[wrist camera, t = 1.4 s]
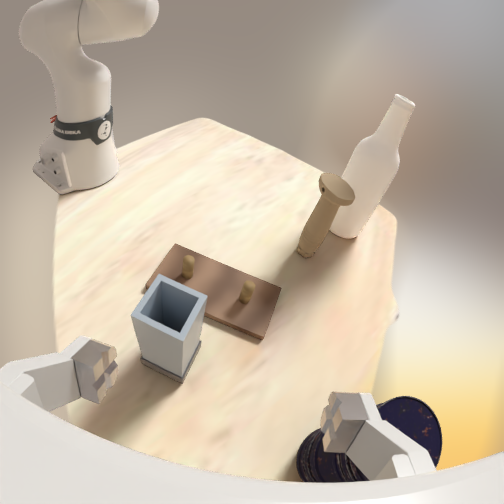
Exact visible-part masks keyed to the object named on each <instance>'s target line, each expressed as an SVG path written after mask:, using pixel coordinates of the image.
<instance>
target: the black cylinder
mask: <svg viewBox="0 0 504 504" xmlns="http://www.w3.org/2000/svg"><path fill="white" fill-rule="evenodd" d="M376 407H377V409H378V411H379V414H380V416H381V419H382V420H386V421H387V422H388V423H390V424H391V425H392V426H394V427H395V428H397V429H398V430H399V431H401V432H402V433H403V434H405V435H406V436H408V437H409V438H410V439H412V440H413V441H415V442H416V443H418V444H419V445H420V446H422V447H423V448H425V449H426V450H427V451H428V453H429V455H430V457H431V459H432V461H433V464H434V466H435V468H436V466H437V464H438V462H439V459H440V455H441V450H442V433H441V428H440V424H439V421H438V419H437V417H436V415H435V414H434V412H433V411H432V409H431V408H430V407H429V406H428V405H427V404H426V403H424V402H423V401H421V400H420V399H417V398H414V397H410V396H401V397H396V398H393V399H391V400H388V401H386V402H384V403H381V404H378V405H376ZM324 435H325V434H324V433H323V432H322V431H321V428H320V429H317V430H315V431H314V432H312V433H311V434H310V435H308V436H307V437H306V439H305V440H304V441H303V443H302V444H301V446H300V448H299V450H298V454H297V470H298V473H299V475H300V477H301V479H302V480H303V481H304V482H312V483H337V482H360V481H370V480H369V479H368V478H367V477H366V476H365V475H364V474H363V473H362V472H361V470H360V469H359V468H358V467H357V466H356V465H355V464H354V463H353V461H352V460H351V459H350V458H349V457H348V456H347V455H346V453H338V452H324V445H323V437H324Z"/></svg>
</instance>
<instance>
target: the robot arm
mask: <svg viewBox="0 0 504 504" xmlns="http://www.w3.org/2000/svg"><path fill="white" fill-rule="evenodd" d="M158 12H159V4H158V0H44V1H41V2H39V3H37V4H35V5H33V6H31V7H30V8H29V9H28V10H27V12H26V13H25V15H24V17H23V19H22V20H21V24H20V27H19V38H20V41H21V44H22V45H23V47H24V48H25V49H26V50H28V51H30V52H32V53H33V54H35V55H36V56H37V57H39V58H40V59H41V61H42V62H43V63H44V64H45V66H46V67H47V69H48V71H49V73H50V75H51V78H52V81H53V85H54V92H55V99H56V108H57V115H55V116H54V117H52V118H50V119H53V118H55V119H53V120H52V121H51V123H52V122H54V121H55V124H54V130H53V132H52V133H51V134H50V135H49V136H48V137H47V138H46V139H45V140H44V141H43V143H42V144H41V146H40V159H39V160H38V161H37V162H36V163H35V165H34V167H33V172H34V173H35V174H36V175H38V176H39V177H40V178H41V179H42V180H43V181H44V182H46V183H47V184H48V185H49V186H50V187H51V188H53V189H54V190H55V191H56V192H57V193H58V194H65V193H68V192H71V191H74V190H83V189H89V188H93V187H97V186H99V185H102V184H104V183H106V182H107V181H109V180H110V179H112V178H113V177H114V176H115V175H116V174H117V172H118V171H119V168H120V163H119V160H118V157H117V148H116V147H115V144H114V137H113V131H112V124H113V109H112V106H111V105H110V104H111V74H110V71H109V69H108V68H107V67H106V66H105V65H104V64H102V63H100V62H98V61H95V60H92V59H90V58H88V57H87V56H86V55H85V54H84V52H83V50H82V45H87V44H95V43H105V42H117V41H122V40H127V39H131V38H136V37H140V36H143V35H145V34H146V33H147V32H148V31H149V30H150V29H151V28H152V26H153V25H154V23H155V21H156V19H157V17H158ZM116 357H117V353H116V348H115V347H113V346H111V345H108V344H105V343H102V342H100V341H97V340H95V339H92V338H89V337H86V336H84V335H81V336H79V337H78V338H77V339H76V340H74V341H73V342H72V343H71V344H70V345H69V346H68V347H66V348H65V349H64V350H63V351H62V352H61V353H60V354H59V353H57V352H56V353H52V354H47V355H42V356H37V357H33V358H27V359H22V360H17V361H12V362H8V363H7V364H6V365H5V366H3V367H2V368H1V369H0V504H504V452H500V453H497V454H494V455H491V456H488V457H485V458H482V459H479V460H476V461H473V462H470V463H466V464H462V465H459V466H455V467H451V468H447V469H443V470H438V471H437V470H436V468H435V466H434V464H433V461H432V459H431V457H430V455H429V453H428V451H427V450H426V449H425V448H423V447H422V446H420V445H419V444H418V443H416V442H415V441H413V440H412V439H410V438H409V437H408V436H406V435H405V434H403V433H402V432H401V431H399V430H398V429H397V428H395V427H394V426H392V425H391V424H390V423H388V422H387V421H386V420H382V419H381V416H380V414H379V411H378V409H377V407H376V404H375V402H374V399H373V397H372V395H371V394H370V393H346V392H332V393H331V394H330V397H329V399H328V401H329V405H328V406H327V407H325V408H324V410H323V413H322V416H321V431H322V432H323V433H324V434H325V435H324V437H323V445H324V452H338V453H346V455H347V456H348V457H349V458H350V459H351V460H352V461H353V463H354V464H355V465H356V466H357V467H358V468H359V469H360V470H361V472H362V473H363V474H364V475H365V476H366V477H367V478H368V479H369V480H370V481H360V482H337V483H312V482H289V481H276V480H265V479H256V478H249V477H242V476H235V475H229V474H223V473H218V472H213V471H208V470H203V469H198V468H194V467H190V466H186V465H182V464H178V463H174V462H171V461H167V460H164V459H160V458H157V457H154V456H150V455H147V454H144V453H141V452H138V451H135V450H132V449H130V448H127V447H124V446H122V445H119V444H116V443H114V442H111V441H109V440H106V439H104V438H101V437H99V436H97V435H94V434H92V433H90V432H88V431H86V430H83V429H81V428H79V427H77V426H75V425H73V424H71V423H69V422H67V421H65V420H63V419H61V418H59V417H57V416H55V415H53V414H52V413H50V412H49V411H52V410H54V409H56V408H58V407H61V406H63V405H66V404H68V403H70V402H72V401H75V400H77V399H79V398H81V397H83V398H85V399H87V400H90V401H93V402H95V403H98V404H100V403H101V401H102V400H103V398H104V397H105V396H106V394H107V391H106V389H108V388H111V387H112V386H113V385H114V383H115V381H116V378H117V374H118V365H117V364H116V362H115V361H114V359H115V358H116Z"/></svg>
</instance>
